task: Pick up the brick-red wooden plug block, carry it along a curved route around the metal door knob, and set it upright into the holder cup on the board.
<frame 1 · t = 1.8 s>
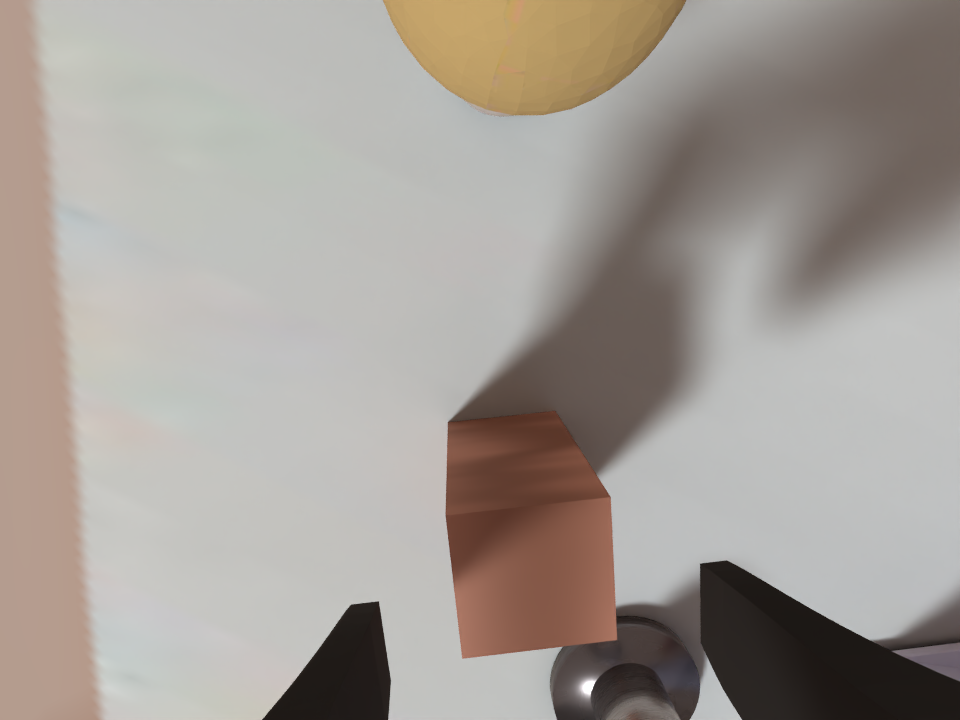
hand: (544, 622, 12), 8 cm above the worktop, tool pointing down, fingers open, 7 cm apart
metal door knob: (620, 679, 22), on the worktop
light bulb: (500, 61, 17), on the worktop
plug block: (506, 466, 20), on the worktop
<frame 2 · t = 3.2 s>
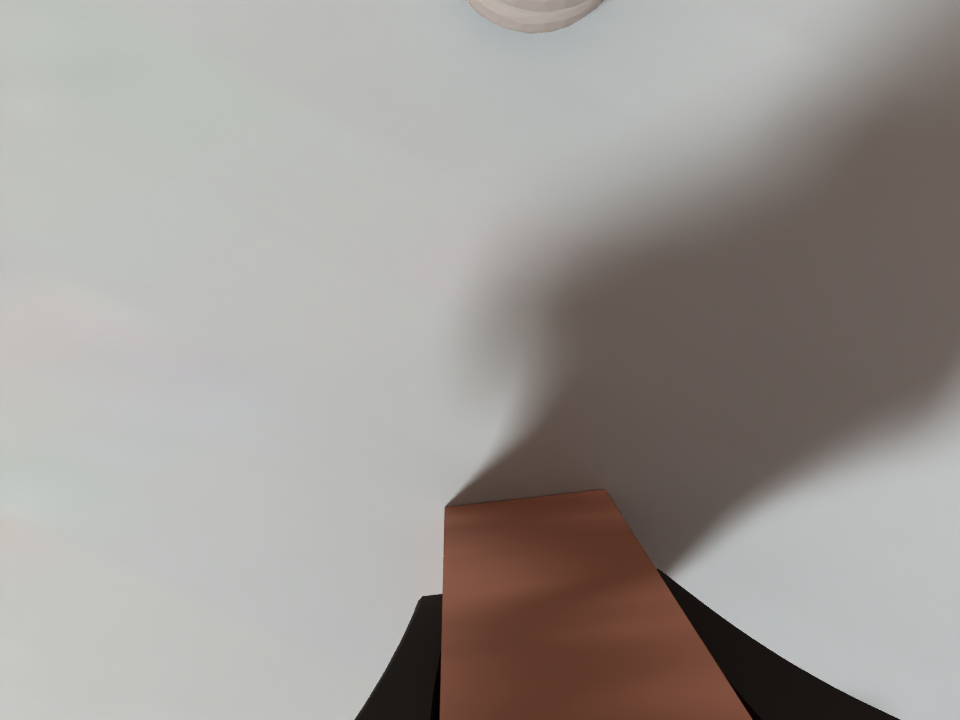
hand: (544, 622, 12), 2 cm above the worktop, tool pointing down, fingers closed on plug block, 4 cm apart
plug block: (531, 569, 13), on the worktop, touching gripper
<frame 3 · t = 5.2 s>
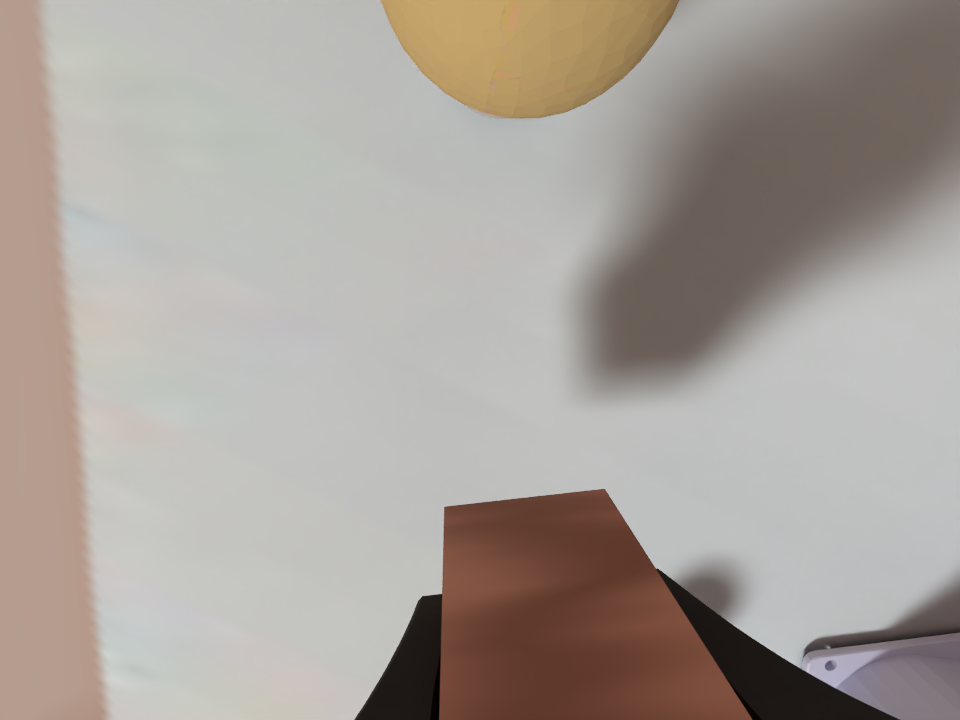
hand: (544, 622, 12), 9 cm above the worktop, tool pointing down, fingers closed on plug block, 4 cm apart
light bulb: (498, 64, 18), on the worktop
plug block: (530, 569, 13), point 7 cm above the worktop, touching gripper
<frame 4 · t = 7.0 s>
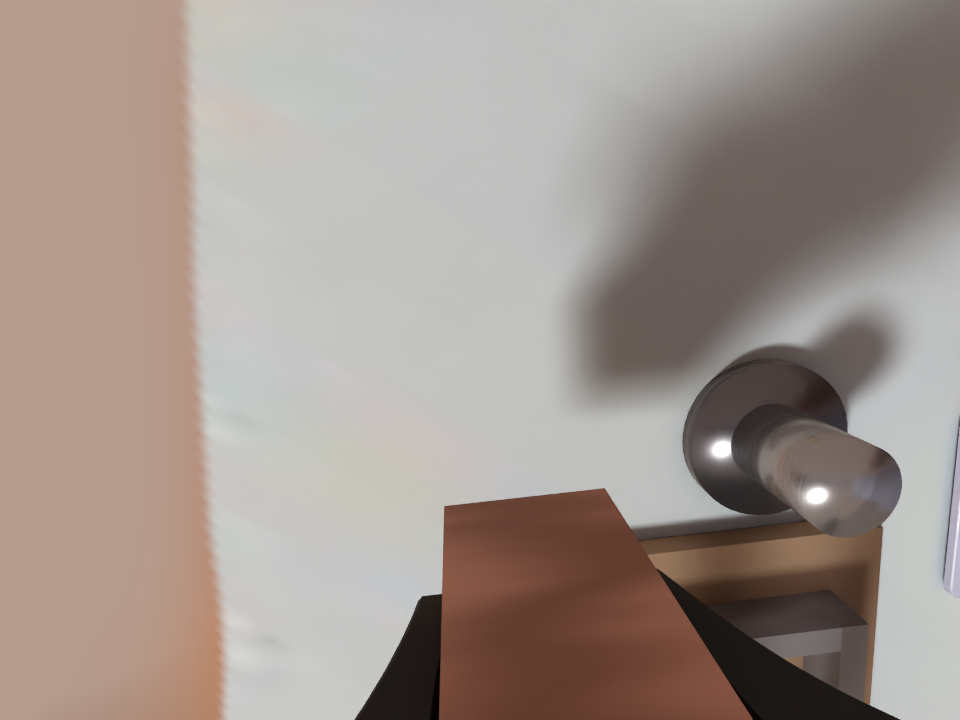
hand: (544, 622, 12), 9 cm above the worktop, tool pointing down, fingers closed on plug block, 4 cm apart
holder board: (686, 700, 23), on the worktop
metal door knob: (757, 434, 21), on the worktop
plug block: (530, 569, 13), point 7 cm above the worktop, touching gripper
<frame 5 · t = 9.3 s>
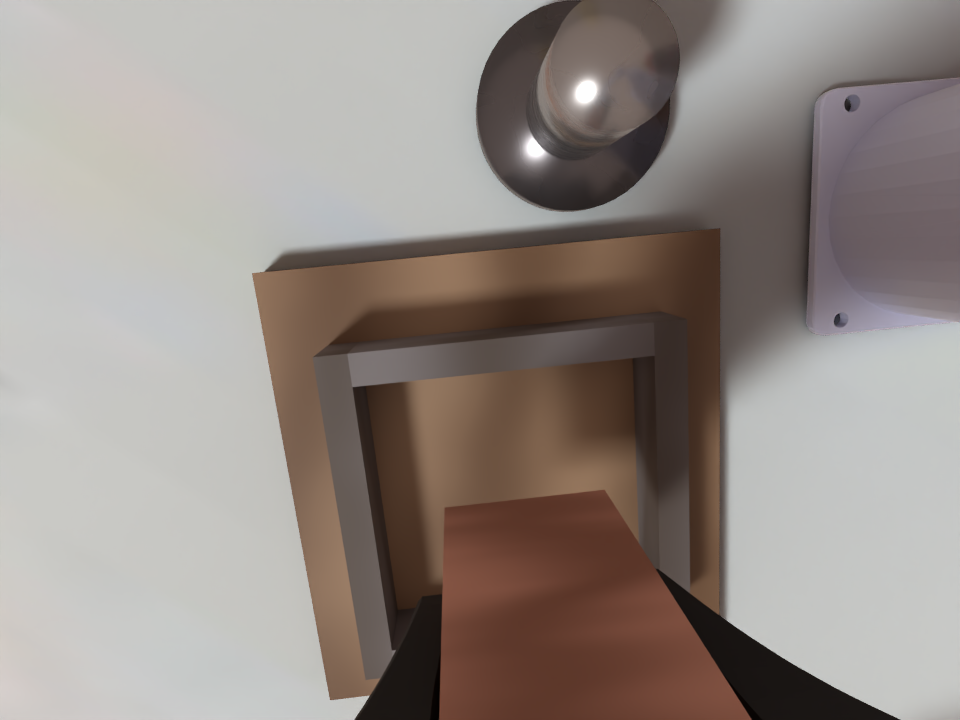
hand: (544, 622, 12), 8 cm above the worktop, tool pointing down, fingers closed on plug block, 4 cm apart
holder board: (507, 470, 19), on the worktop
metal door knob: (568, 115, 17), on the worktop
plug block: (530, 570, 13), point 6 cm above the worktop, touching gripper
when the fingers open (4 cm above the worktop, at t = 11.2 s): plug block stays where it is, resting on holder board.
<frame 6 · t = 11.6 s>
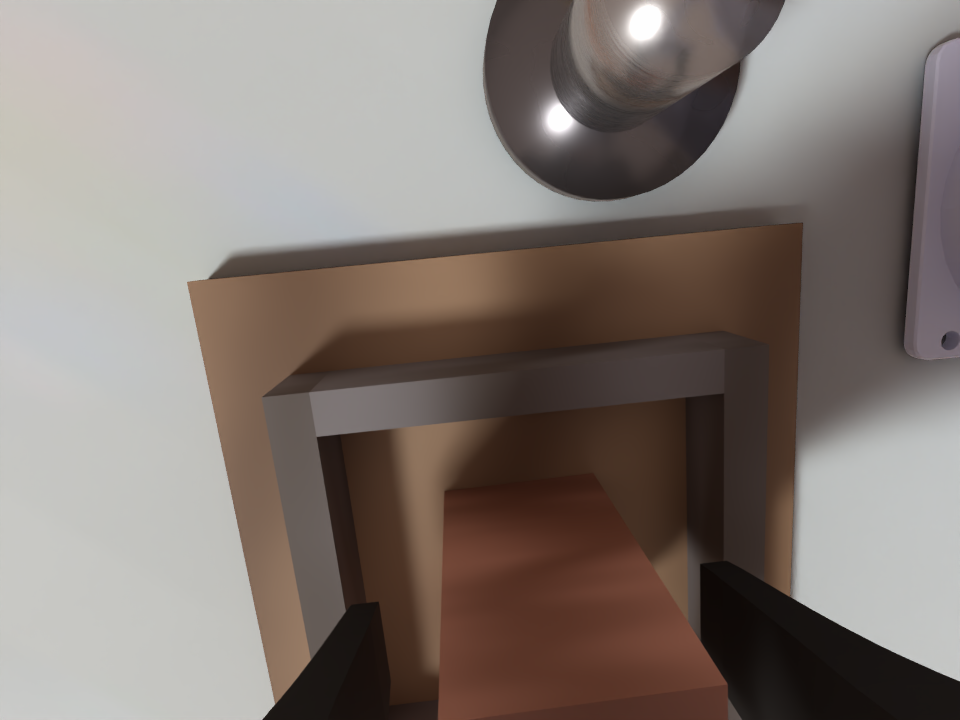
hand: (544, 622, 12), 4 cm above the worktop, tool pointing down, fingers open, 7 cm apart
holder board: (521, 529, 15), on the worktop
metal door knob: (604, 74, 13), on the worktop
plug block: (525, 549, 14), point 1 cm above the worktop, touching holder board
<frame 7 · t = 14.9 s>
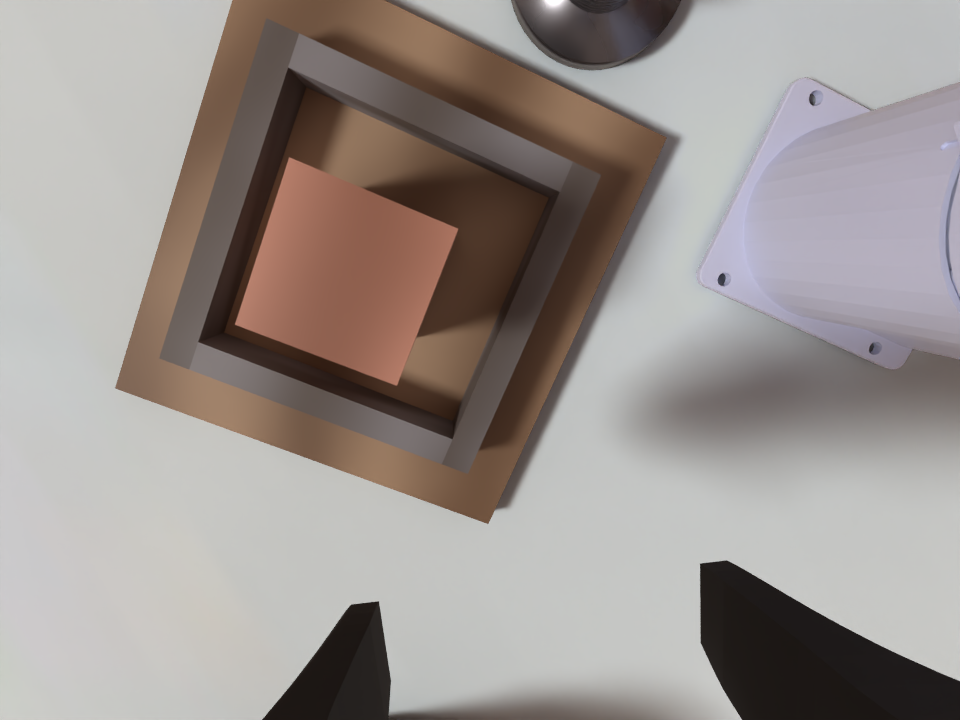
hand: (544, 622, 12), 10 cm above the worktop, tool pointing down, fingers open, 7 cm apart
holder board: (388, 264, 20), on the worktop
plug block: (384, 266, 19), point 1 cm above the worktop, touching holder board
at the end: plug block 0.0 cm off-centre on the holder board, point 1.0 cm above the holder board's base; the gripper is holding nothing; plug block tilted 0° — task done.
